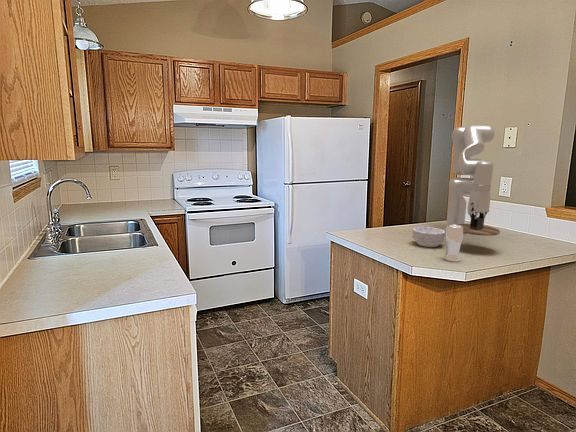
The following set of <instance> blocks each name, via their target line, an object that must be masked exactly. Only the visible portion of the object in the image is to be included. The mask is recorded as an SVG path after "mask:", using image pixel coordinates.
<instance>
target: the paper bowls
mask: <svg viewBox="0 0 576 432" xmlns="http://www.w3.org/2000/svg"><path fill="white" fill-rule="evenodd" d="M411 235H412V236H411V238H412V239H413V240H415V242H416V244H417V245H418V246H420V247H424V248H436V247H438V246H440V244H441V243H444V242H445V241H446V240H445V236H446V232H445V231H444V230H443V228H437V227H432V226H431V227H430V226H415V227H413V229H412V234H411Z"/></svg>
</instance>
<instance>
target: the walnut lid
mask: <svg viewBox="0 0 576 432" xmlns="http://www.w3.org/2000/svg"><path fill="white" fill-rule="evenodd" d="M478 217H479V216H477V219H478V221H477V227H472V226H470V223H464V224H456V225H460V226H463V233H464V234H468V235H475V236H486V237H487V236H488V237H489V236H498V235H499V234H500V232H501V231H500V229H498V228H497V227H493V226H489V225H483V224H485V218H484V219H483V218H478Z"/></svg>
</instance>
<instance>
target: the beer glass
mask: <svg viewBox="0 0 576 432" xmlns="http://www.w3.org/2000/svg"><path fill="white" fill-rule="evenodd" d="M463 237H464V234H463V226H460V225H447V229H446V232H445V240H444V241H445V249H446V250H445V255H444V260H446V261H448V262H453V263H455V262H460V250H461V247H462V243H463V240H464V238H463Z"/></svg>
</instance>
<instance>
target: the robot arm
mask: <svg viewBox="0 0 576 432" xmlns="http://www.w3.org/2000/svg"><path fill="white" fill-rule="evenodd" d="M451 135H452V136H451V141H452V145H453V150H454V152H453V164H452V168H453V169H452V171H453V173H454V174H455V175H457V176H472V177H453V178H451V179H450V180H449V181H448V203H447V205H448V207H447V217H446V227H443V228H442V230H444V231H445V233H446V229H447V225H456V224H465V220H466V212H467V214H468V215H469V218H470V223H469V224H470V226H472V227H477V221H478V219H477V217H478V218H483V219H484V220H485V219H486V216H487V214H488V213H489V212H490V207H491V187H492V180H493V173H494V163H493V162H491V161H489V160H482V159H479V158H471V157H474V156H477V155H479V154H481V153H482V152H483V151H484V149H485V143H489V142H492V141H493V140H494V137H495V129H494V127H493V126H491V125H489V124H471V125H468V126H459V127H455V128H454V129H453V130H452V134H451ZM463 195H466V196H467V195H469V197H468V204H467V200H466V198H465V197H464V196H463ZM466 210H467V211H466ZM484 224H485V223H484ZM484 224H483V225H484ZM484 226H485V225H484ZM464 234H465V233H463V235H464Z"/></svg>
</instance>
